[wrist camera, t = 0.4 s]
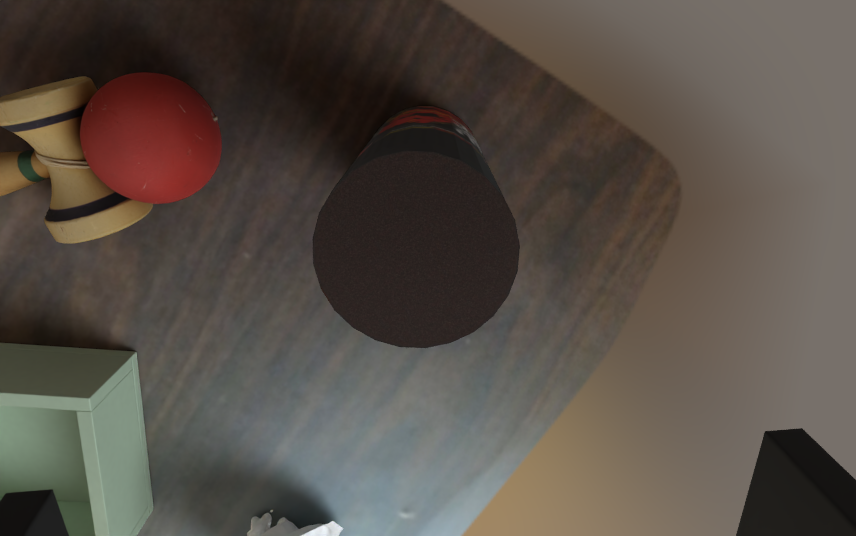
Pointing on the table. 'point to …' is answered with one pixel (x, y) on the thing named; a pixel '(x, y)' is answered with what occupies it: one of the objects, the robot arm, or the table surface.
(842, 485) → the robot arm
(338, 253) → the deodorant
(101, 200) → the kendama
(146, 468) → the bin
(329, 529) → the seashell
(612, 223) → the table surface
